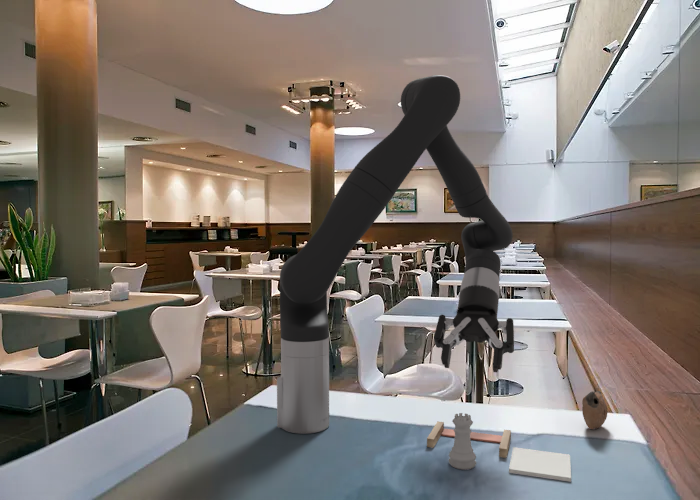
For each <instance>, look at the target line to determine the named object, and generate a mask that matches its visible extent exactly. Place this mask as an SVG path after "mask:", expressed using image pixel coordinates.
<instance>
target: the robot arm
mask: <svg viewBox="0 0 700 500" xmlns="http://www.w3.org/2000/svg"><path fill="white" fill-rule="evenodd" d="M400 96H401V97H400V107H401V110H402V113H403V116H402V119H401V121H399V123H398V124H397V126H396V127H395V128H394V129H393V130H392V131H391V133H389V134H388V135H387V136H386V137H385V138H383V139H382V140H381V141H380V142H379V143H377V144H376V145H375V146H374V147H373V148H372V149H371V150H369V151H368V152H367V153H366V154H365V155H364V156H363V157H362V158H361V159H360V160H359V162H358V163H357V164H356V165H355V166H354V168H353V169H352V170H351V172H350V173H349V175H348V176H347V177H346V179H345V181H344V182H343V183H342V185H341V186H340V188H339V190H338V191H337V193H336V195H335V196H334V198H333V199H332V202H331V204H330V206H329V208H328V210H327V212H326V214H325V217H324V218H323V220H322V222H321V224H320V225H319V227H318V228H317V230H316V231H315V233H313V235H312V236H311V237H310V239H308V241H307V242H306V244H305V245H304V246H303V247H302V248H301V249H300V250H299V252H298V253H297V254H294V255H292V256H290V257H289V258H288V259H287V260H285V261H284V263H283V265H282V267H281V269H280V272H279V317H280V318H279V319H280V320H279V322H280V323H279V324H280V376H278V377H277V378H276V405H277V406H276V414H277V416H276V420H277V421H276V422H277V423H276V425H277V426H276V427H277V428H279V429H280V428H281V429H283V430H284V431H286V432H289V433H293V434H306V435H307V434H314V433H319V432H323V431H324V430H326V429H328V427H330V341H329V340H330V326H329V325H330V323H329V315H328V294H327V293H328V290H329V288H330V287H331V285H332V284H333V281H334V279H335V278H336V275H337V274H338V272H339V270H340V269H341V267H342V265H343V264H344V262H345V260H346V258H347V257H348V256H349V254H350V253H351V251H352V249H353V248H354V246H355V245H356V244H357V243H358V242H359V241H360V239H362V237H363V236H364V235H365V234H366V233H367V231H368V230H369V229H370V228H371V227H372V225H373V224H374V223H375V222H376V220H378V217H380V215H381V213H383V211H384V210H385V209H386V207H387V205H388V204H389V203H390V202H391V200H392V199H393V198H394V195H395V194H396V193H397V191H398V189H399V188H400V187H401V185H402V184H403V182H404V181H405V179H407V176H408V175H409V174H410V172H411V171H412V169H413V168H414V166H415V165H416V164H417V162H418V161H419V160H420V157H422V155H423V153H424V152H425V151H426V150H427V152H428V155H429V156H430V158H431V160H432V161H433V163H434V164H435V167H436V168H437V170H438V172H439V174H440V176H441V178H442V180H443V182H444V184H445V186H446V188H447V191H448V194H449V196H450V198H451V200H452V202H453V206H454V207H455V209H456V212H457V214H458V215H460V217H462V218H467V219H469V218H470V219H474V218H475V219H479V220H477V221H475V222H470V223H468V224H467V225H466V226H465V227H464V228H462V231H461V236H460V238H461V242H462V243H461V244H462V246H463V251H464V259H465V265H464V270H463V271H464V273H463V278H462V279H461V285H460V290H459V298H458V304H457V311H456V314H455V316H454V317H453V318H452V317H451V318H449V317H446V315H445V314H440V315H439V317H438V321H437V323H436V327H435V328H436V329H435V332H434V336H433V340H434V344H435V347H436V348H438V349H439V348H441V355H440V359H441V363H442V364H441V365H443V366H444V368H445V369H449V368H450V364H451V357H452V349H453V348H454V347H456V346H459V345H460V344H461V343H463V341H465V342H468V343H472V342H476V343H481V344H482V343H484V342H486V343H487V344H488V345H489V346H490V347H491V348H492V349H493V358H492V371H493V372H492V373H498V370H501V369H502V368H503V355H505V354H507V353H509V354H512V353H514V351H515V327H514V326H515V325H514V319H513V318H511V317H510V318H509V317H508V318H507V319H506V320H498V310H499V302H500V301H499V300H500V290H501V289H500V276H501V275H500V274H501V258H500V256H499V254H498V253H497V252H496V251H500V250H504V249H507V248H509V246H510V245H511V244H512V241H513V237H514V236H513V230H512V227H511V224H510V223H509V221H508V220H507V219H506V217H505V216H504V215H503V214H502V213H501V211H500V210H499V209H498V208H497V207H496V206H495V204H494V202H493V201H492V199H490V197H489V195H488V192H487V190H486V188H485V185H484V183H483V181H482V177H481V176H480V174H479V172H478V171H477V168H476V167H475V165H474V164H473V163H472V161H471V160H470V158H469V157H468V156H467V155H466V154H465V153H464V151H463V150H462V149H461V147H460V146H459V145H458V143H457V142H456V141H455V139H454V137H453V136H452V134H451V131H450V129H449V128H448V124H449V123H450V122H451V121H452V120H453V118H454V117H455V116H456V114H457V112H458V110H459V107H460V103H461V91H460V87H459V85H458V83H457V82H456V81H455V80H454V79H453V78H452V77H449V76H447V75H443V74H442V75H440V74H439V75H436V74H435V75H430V76H426V77H421V78H416V79H413V80H412V81H410V82H408V84H406V86H405V87H404V88H403V90H402V93H401V95H400ZM452 326H453V327H454V328H453V329H452V330H451V331H450V334H448V335H447V336H446V337H445V335H446V331H449V329H450V327H452ZM499 329H501V330H502V333H504V334H505V335H506V336H505V338H506V342H502V341H501V340H500V339H499V337H498V336H497V334H496V332H497V331H498V330H499Z"/></svg>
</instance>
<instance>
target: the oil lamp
mask: <svg viewBox="0 0 700 500" xmlns="http://www.w3.org/2000/svg"><path fill="white" fill-rule="evenodd" d="M581 405H582V408H581V409H582V412H581V413H582V417H583V420H584V422H585V425H586V426H587V427H588V429H590V430H597V429H599V428H602V426H604V424H605V421H606V420H607V417H608V405H607V403H606V401H605V399H604V397H603V394H602V391H601V390H597V391H590V392H589V393H587V394H586V395H584V396H583V398H582V402H581Z"/></svg>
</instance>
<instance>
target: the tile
mask: <svg viewBox="0 0 700 500" xmlns="http://www.w3.org/2000/svg"><path fill="white" fill-rule="evenodd" d="M509 462H510V463H509V466H508V467H509V468H508V473H509V474H514V475H516V474H517V475H521V476H529V477H536V478H542V479H550V480H556V481H563V482H570V483H572V470H571V469H572V467H571V455H570V454H568V453H567V454H566V453H560V452H553V451H545V450H537V449H536V450H535V449H529V448H521V447H516V446H514V447H513V446H512V452H511V456H510V461H509Z"/></svg>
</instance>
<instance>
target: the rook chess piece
mask: <svg viewBox="0 0 700 500" xmlns="http://www.w3.org/2000/svg"><path fill="white" fill-rule="evenodd" d="M471 418H472V417H471V415H470V414H468V413H464V415H463V412H459V413H455V414H454V418H453V419H452V421H451V422H452V423H453V424H454V429H453V430H454V432H455V437H454V441H453V446H451V450H450V451H449V454H448V457H449V458H448V463H449V465H451V466H450V467H452V468H454V469H456V470H461V471H467V470H472V469H474V468H475V467H476V466H477V461H476V459H477V456H476V455H477V454H476V453H475V452H474V449H473V446H472V441H471V439H470V433H471V432H473V431H472V430H471V426H472V425H473V424H474V421H473V420H472V419H471Z"/></svg>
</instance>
